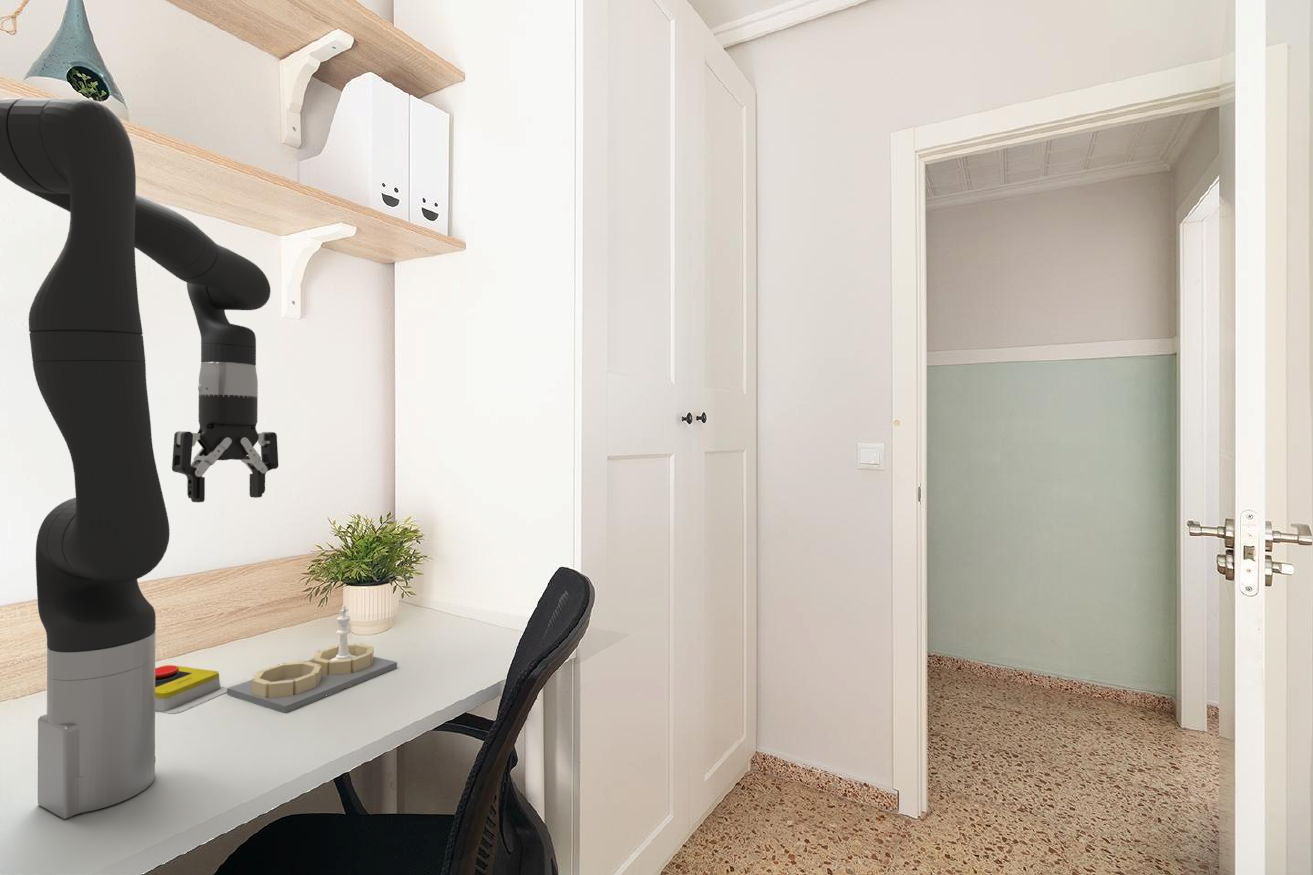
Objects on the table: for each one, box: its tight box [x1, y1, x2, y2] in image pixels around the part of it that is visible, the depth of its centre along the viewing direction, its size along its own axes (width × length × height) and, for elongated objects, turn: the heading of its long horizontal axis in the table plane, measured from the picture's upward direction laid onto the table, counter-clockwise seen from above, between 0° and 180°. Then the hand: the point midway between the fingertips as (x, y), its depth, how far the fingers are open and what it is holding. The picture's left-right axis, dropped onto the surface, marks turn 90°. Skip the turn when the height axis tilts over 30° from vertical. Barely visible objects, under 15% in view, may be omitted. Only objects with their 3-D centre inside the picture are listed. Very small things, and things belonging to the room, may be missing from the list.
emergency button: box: [155, 664, 228, 715], centre depth 98 cm, size 9×4×15 cm
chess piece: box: [330, 605, 356, 661], centre depth 108 cm, size 5×5×10 cm
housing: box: [226, 643, 398, 714], centre depth 104 cm, size 20×14×3 cm
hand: (228, 499), depth 98 cm, fingers open, 8 cm apart
